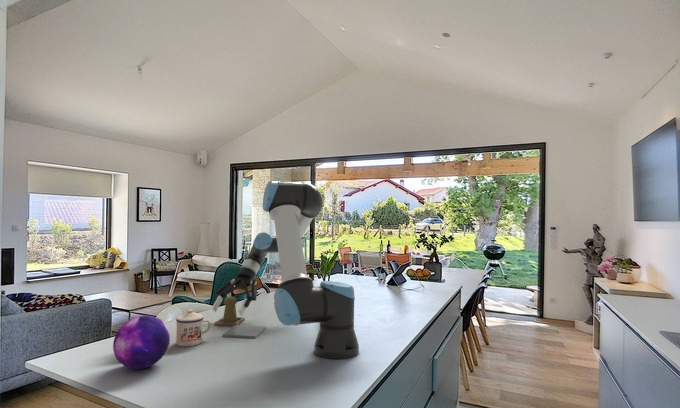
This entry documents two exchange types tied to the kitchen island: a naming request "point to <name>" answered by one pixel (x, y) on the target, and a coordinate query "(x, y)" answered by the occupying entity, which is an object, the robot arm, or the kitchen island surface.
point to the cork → (230, 310)
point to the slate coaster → (244, 331)
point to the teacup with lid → (190, 328)
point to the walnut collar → (221, 323)
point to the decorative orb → (141, 342)
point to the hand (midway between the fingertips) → (226, 311)
